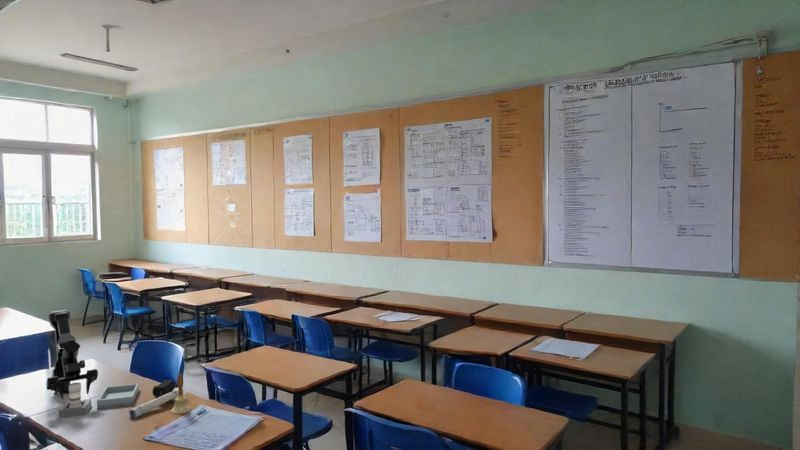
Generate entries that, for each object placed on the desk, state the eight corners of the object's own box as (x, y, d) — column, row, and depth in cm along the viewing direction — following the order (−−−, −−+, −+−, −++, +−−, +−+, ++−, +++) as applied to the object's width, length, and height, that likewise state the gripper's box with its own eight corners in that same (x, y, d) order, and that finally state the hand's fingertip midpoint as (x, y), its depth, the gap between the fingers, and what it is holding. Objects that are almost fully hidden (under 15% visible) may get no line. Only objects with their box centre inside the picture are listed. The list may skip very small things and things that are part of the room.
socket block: (65, 409, 224) (65, 402, 224) (91, 406, 227) (91, 399, 227) (58, 417, 215) (58, 410, 214) (85, 414, 218) (85, 407, 218)
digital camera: (163, 394, 241) (162, 379, 241) (174, 394, 241) (174, 379, 241) (152, 402, 231) (151, 387, 231) (164, 402, 231) (164, 387, 231)
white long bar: (127, 408, 215) (179, 382, 236) (129, 423, 216) (181, 396, 237) (134, 410, 212) (186, 384, 233) (137, 425, 213) (188, 398, 234)
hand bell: (183, 414, 217) (183, 377, 216) (166, 413, 219) (165, 376, 218) (195, 407, 225) (194, 371, 224) (178, 406, 227) (177, 370, 226)
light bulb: (71, 410, 222) (70, 383, 222) (82, 409, 224) (81, 382, 223) (68, 414, 218) (67, 386, 218) (80, 413, 220) (79, 385, 219)
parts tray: (105, 394, 241) (105, 386, 241) (138, 390, 246) (138, 383, 246) (97, 408, 224) (96, 400, 224) (132, 404, 229) (132, 396, 229)
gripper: (46, 359, 217) (50, 391, 209) (96, 350, 229) (102, 381, 221) (44, 373, 223) (48, 405, 215) (93, 364, 236) (99, 394, 228)
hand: (75, 396), depth 220 cm, fingers open, 9 cm apart
